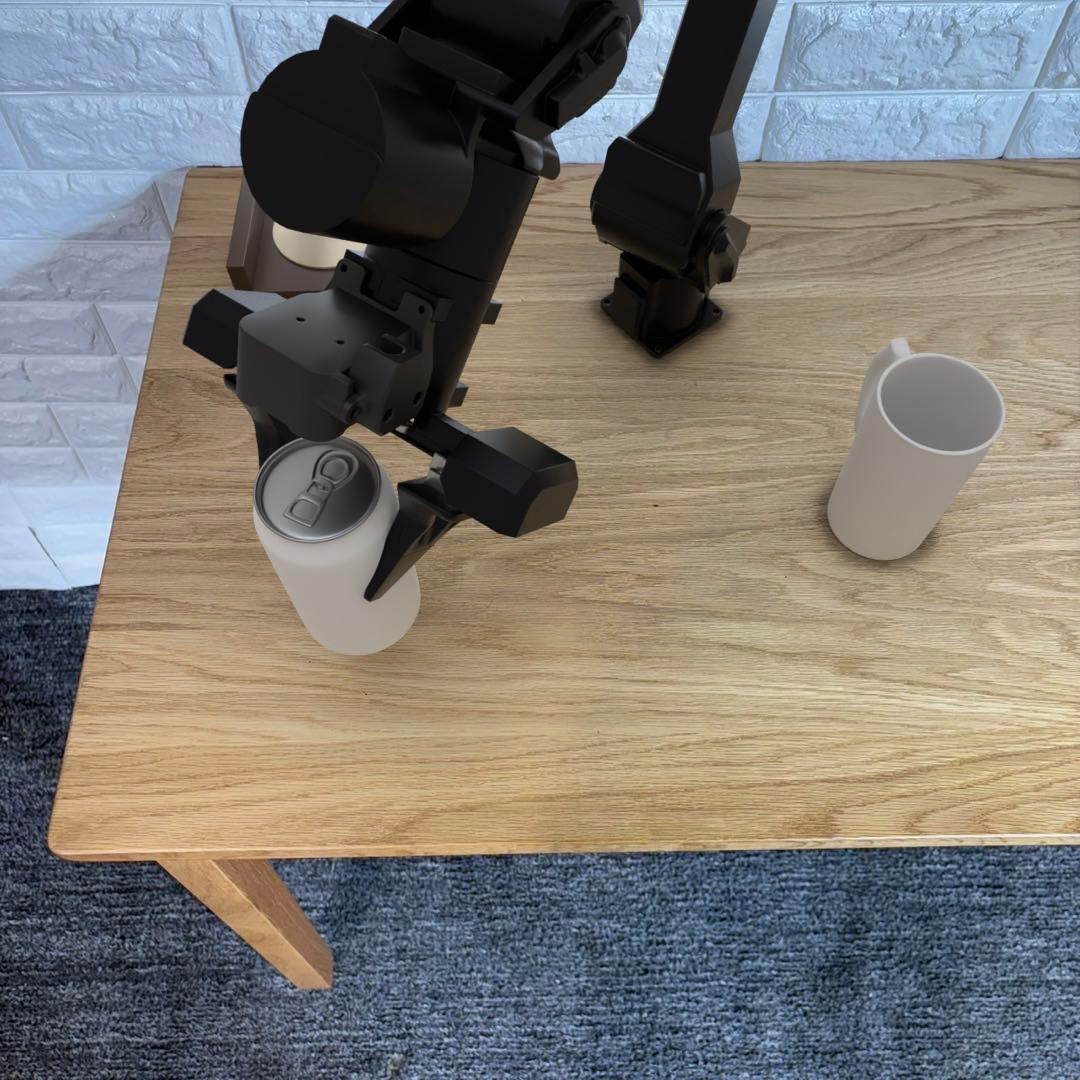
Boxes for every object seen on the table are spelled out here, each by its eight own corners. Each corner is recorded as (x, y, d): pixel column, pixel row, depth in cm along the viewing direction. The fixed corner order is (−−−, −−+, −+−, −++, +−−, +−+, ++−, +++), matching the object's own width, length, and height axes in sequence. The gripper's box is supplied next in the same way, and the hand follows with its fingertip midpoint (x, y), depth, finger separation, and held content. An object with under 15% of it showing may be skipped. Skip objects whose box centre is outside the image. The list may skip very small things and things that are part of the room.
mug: (946, 557, 62) (1027, 445, 52) (842, 573, 62) (902, 463, 51) (891, 427, 67) (954, 301, 57) (794, 441, 66) (840, 316, 56)
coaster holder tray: (419, 201, 78) (411, 143, 73) (413, 318, 72) (404, 263, 67) (265, 204, 78) (247, 146, 73) (246, 321, 72) (225, 266, 67)
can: (443, 579, 55) (418, 457, 44) (382, 678, 52) (340, 574, 42) (343, 533, 56) (295, 405, 46) (279, 628, 54) (212, 515, 43)
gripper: (135, 136, 38) (43, 494, 43) (539, 350, 33) (379, 728, 38) (313, 181, 48) (221, 467, 53) (646, 351, 43) (507, 649, 48)
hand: (320, 565), depth 48 cm, fingers closed on can, 6 cm apart
